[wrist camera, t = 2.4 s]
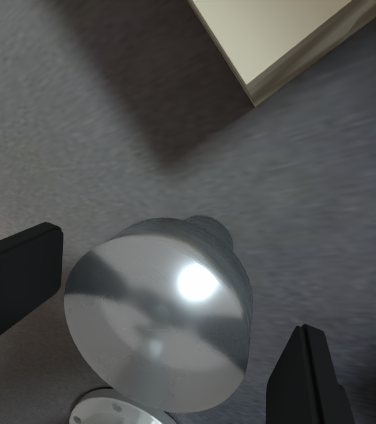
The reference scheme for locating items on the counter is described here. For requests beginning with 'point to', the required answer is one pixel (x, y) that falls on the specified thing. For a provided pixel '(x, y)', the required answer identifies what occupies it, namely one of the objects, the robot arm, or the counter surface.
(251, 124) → the counter surface
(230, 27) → the block
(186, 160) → the counter surface
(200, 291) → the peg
